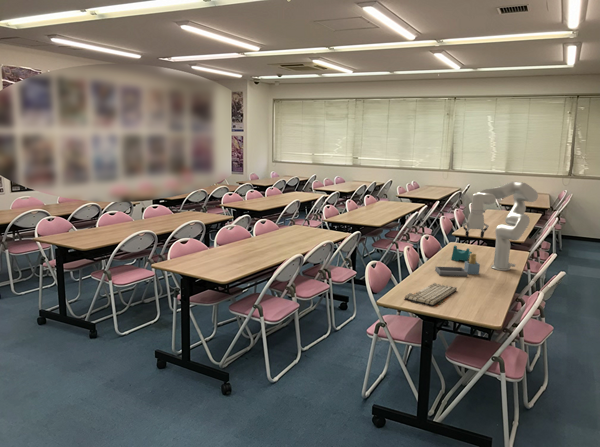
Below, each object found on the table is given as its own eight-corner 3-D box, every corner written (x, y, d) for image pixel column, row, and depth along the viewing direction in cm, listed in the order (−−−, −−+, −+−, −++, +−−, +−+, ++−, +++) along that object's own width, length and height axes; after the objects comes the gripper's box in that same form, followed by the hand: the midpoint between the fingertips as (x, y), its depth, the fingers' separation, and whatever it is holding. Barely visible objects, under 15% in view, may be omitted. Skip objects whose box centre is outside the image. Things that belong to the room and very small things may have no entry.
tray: (461, 271, 321) (461, 267, 321) (467, 276, 309) (467, 272, 309) (435, 270, 322) (435, 266, 321) (439, 275, 310) (440, 271, 309)
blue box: (475, 271, 323) (476, 261, 321) (478, 274, 315) (479, 264, 314) (464, 271, 323) (464, 261, 322) (467, 274, 315) (468, 264, 314)
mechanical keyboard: (428, 285, 290) (429, 280, 289) (459, 292, 279) (460, 287, 278) (402, 301, 260) (403, 295, 260) (435, 309, 249) (436, 303, 248)
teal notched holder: (466, 263, 347) (468, 249, 345) (451, 259, 352) (453, 246, 350) (470, 258, 362) (473, 245, 360) (456, 254, 367) (459, 242, 365)
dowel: (473, 272, 321) (475, 253, 319) (475, 273, 317) (477, 255, 315) (467, 271, 321) (469, 253, 319) (469, 273, 317) (471, 254, 315)
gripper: (488, 211, 315) (485, 236, 318) (462, 210, 316) (459, 235, 319) (492, 213, 308) (489, 239, 311) (465, 212, 309) (462, 237, 311)
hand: (474, 237), depth 315 cm, fingers open, 9 cm apart
